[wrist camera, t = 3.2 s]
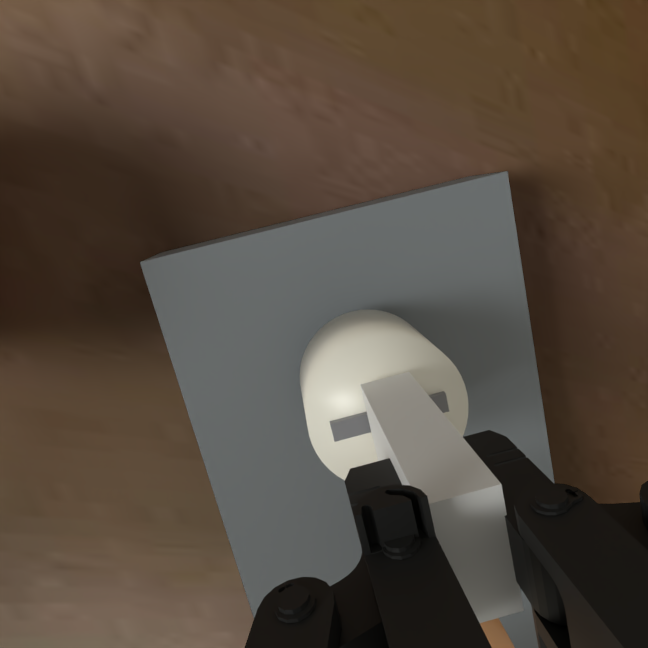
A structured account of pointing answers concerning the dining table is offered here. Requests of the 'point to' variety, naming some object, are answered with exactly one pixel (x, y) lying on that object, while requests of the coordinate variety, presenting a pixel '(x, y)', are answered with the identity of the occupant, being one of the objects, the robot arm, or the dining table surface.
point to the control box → (306, 320)
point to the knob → (362, 367)
